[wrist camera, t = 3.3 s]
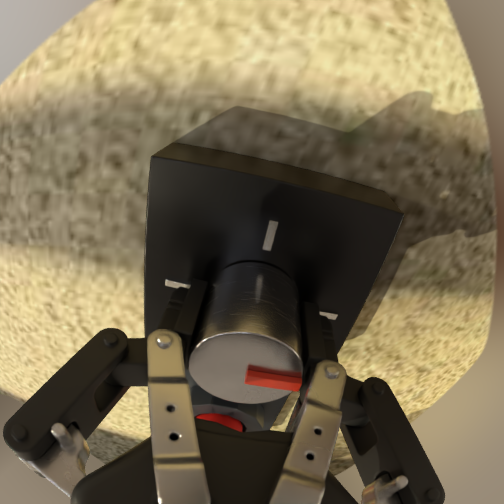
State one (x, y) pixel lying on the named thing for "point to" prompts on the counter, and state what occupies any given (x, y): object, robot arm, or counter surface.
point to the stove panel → (263, 229)
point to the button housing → (235, 408)
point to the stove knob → (249, 336)
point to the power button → (222, 420)
